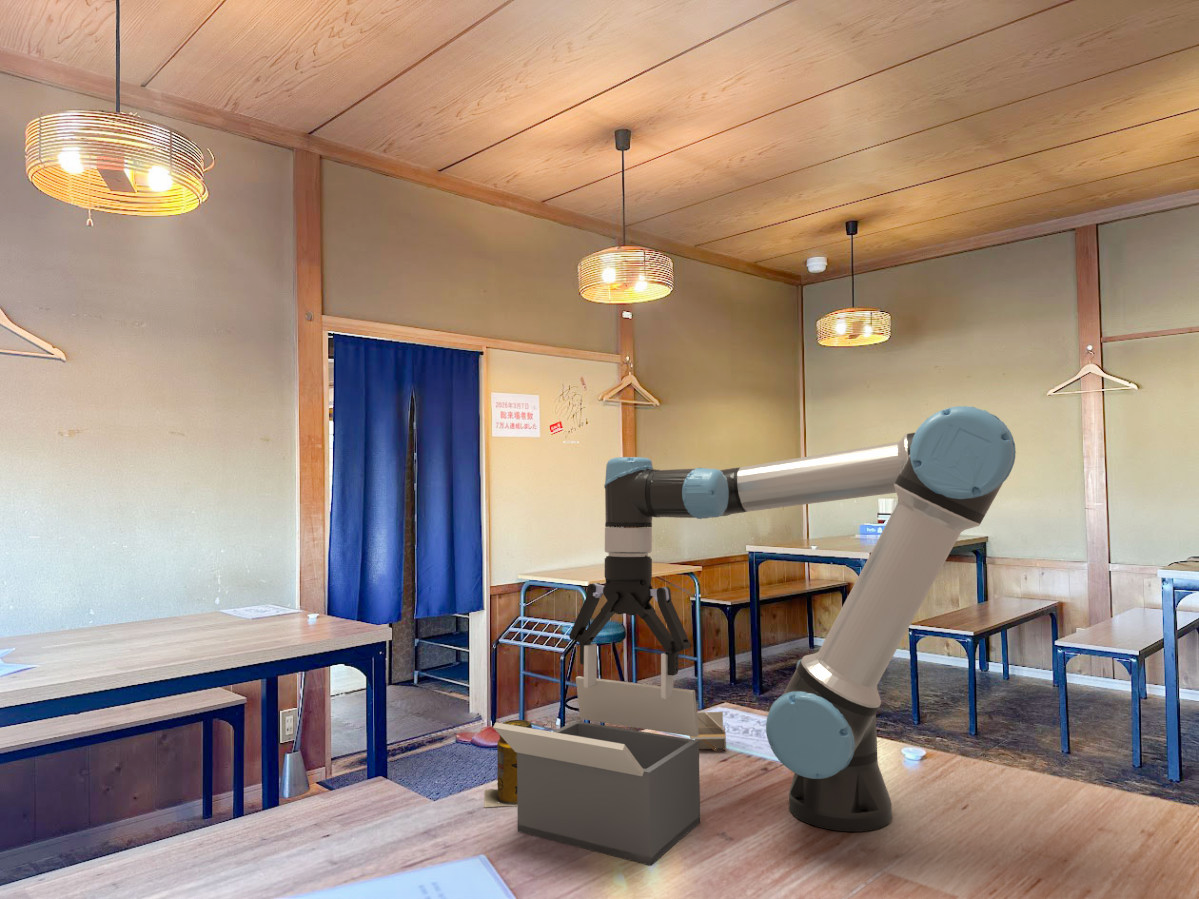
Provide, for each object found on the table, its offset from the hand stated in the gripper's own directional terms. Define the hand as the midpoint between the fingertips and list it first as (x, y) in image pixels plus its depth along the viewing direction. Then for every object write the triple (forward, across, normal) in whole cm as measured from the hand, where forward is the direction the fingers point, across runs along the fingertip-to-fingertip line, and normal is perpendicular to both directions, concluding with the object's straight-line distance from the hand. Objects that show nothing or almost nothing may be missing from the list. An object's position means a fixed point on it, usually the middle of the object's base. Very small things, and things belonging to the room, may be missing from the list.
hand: (627, 691), depth 122 cm
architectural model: (+18, +1, -35) cm, 39 cm away
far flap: (+3, 0, -2) cm, 3 cm away
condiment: (+19, +20, +3) cm, 28 cm away
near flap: (+4, 0, +17) cm, 18 cm away
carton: (+18, 0, +6) cm, 19 cm away
